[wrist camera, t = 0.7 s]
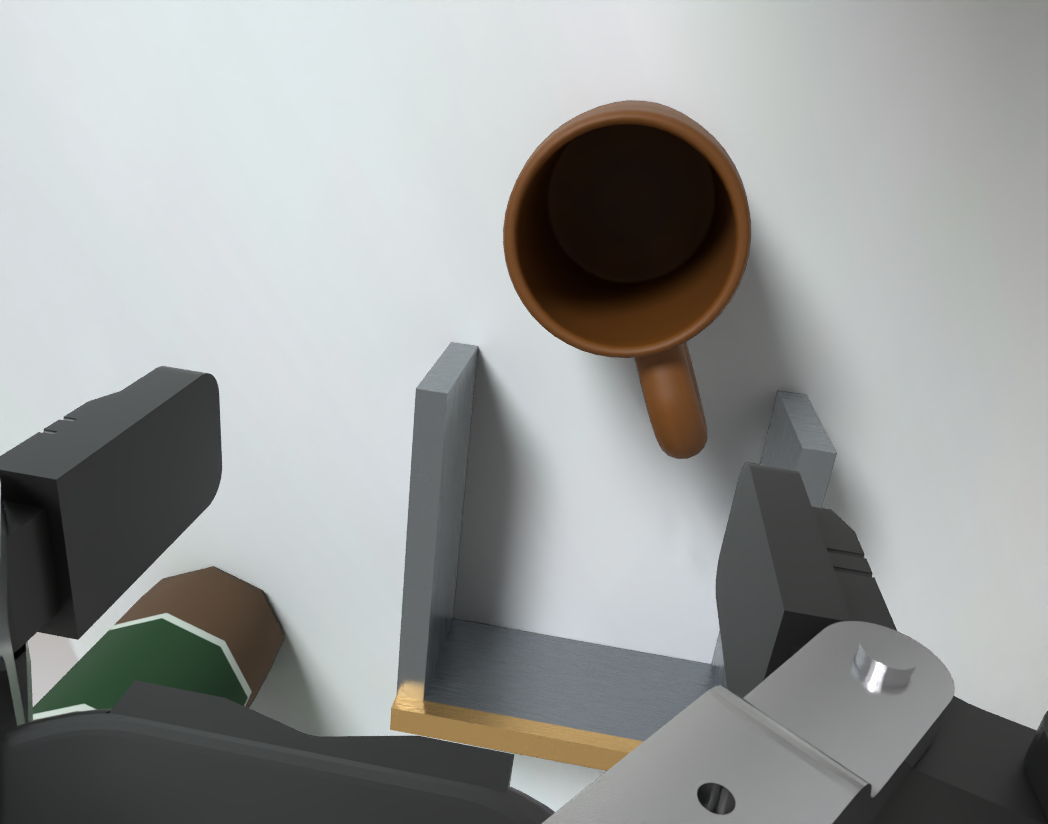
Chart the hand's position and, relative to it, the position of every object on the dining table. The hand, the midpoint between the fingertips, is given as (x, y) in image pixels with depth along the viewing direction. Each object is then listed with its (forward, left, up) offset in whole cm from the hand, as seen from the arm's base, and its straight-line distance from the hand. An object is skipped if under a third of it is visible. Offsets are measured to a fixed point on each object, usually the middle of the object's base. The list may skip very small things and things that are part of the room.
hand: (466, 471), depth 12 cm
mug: (+1, +3, -23) cm, 24 cm away
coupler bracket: (+14, +3, -23) cm, 27 cm away
